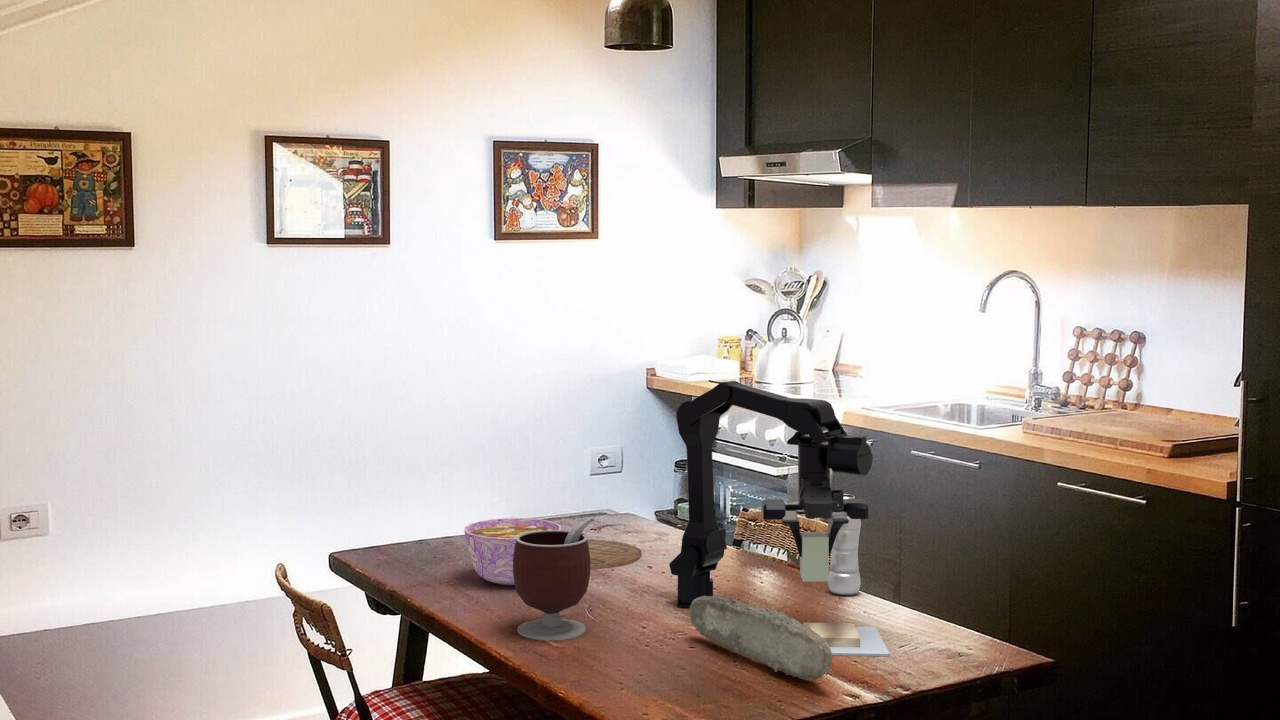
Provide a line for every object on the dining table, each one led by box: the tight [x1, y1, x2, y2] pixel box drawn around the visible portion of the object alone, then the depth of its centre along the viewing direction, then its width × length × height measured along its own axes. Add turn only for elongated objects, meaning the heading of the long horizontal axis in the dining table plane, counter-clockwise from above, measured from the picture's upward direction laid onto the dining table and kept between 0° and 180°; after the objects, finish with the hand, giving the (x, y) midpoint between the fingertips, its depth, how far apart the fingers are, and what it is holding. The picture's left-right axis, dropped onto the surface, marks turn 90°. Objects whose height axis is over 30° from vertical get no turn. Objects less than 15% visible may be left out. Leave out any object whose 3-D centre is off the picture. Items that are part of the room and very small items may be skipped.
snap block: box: [799, 531, 830, 583], centre depth 234 cm, size 5×5×8 cm
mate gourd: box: [513, 516, 595, 641], centre depth 233 cm, size 16×14×20 cm
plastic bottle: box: [827, 493, 862, 596], centre depth 259 cm, size 6×7×20 cm
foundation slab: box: [802, 622, 860, 647], centre depth 228 cm, size 9×9×2 cm
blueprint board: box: [830, 626, 891, 657], centre depth 228 cm, size 18×16×1 cm
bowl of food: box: [463, 517, 562, 586], centre depth 267 cm, size 20×20×12 cm
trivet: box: [587, 539, 643, 570], centre depth 289 cm, size 25×25×2 cm
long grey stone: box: [689, 595, 833, 681], centre depth 215 cm, size 35×5×10 cm, turn 37°
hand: (814, 556), depth 234 cm, fingers closed on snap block, 5 cm apart
